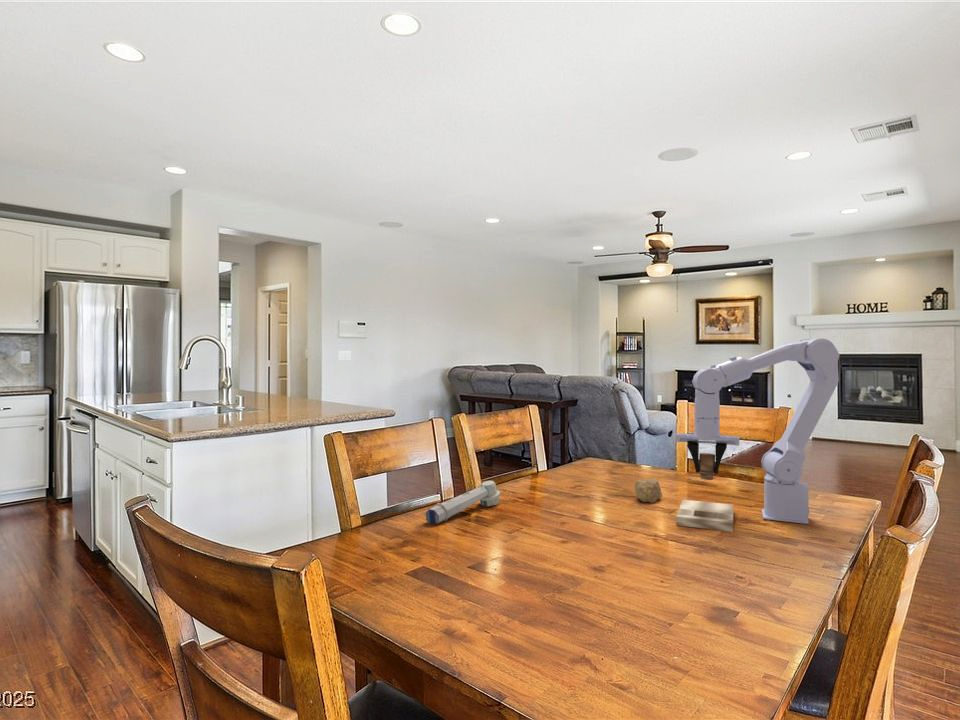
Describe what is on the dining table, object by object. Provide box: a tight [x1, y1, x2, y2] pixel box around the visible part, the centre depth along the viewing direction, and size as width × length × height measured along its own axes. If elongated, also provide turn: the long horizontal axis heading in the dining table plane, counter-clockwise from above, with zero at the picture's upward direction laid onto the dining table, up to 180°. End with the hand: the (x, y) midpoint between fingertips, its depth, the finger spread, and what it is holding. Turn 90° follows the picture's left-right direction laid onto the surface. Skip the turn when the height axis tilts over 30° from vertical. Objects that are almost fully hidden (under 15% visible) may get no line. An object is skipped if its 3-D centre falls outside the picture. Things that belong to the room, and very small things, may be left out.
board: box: [675, 499, 734, 533], centre depth 134 cm, size 12×16×2 cm
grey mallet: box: [424, 480, 501, 526], centre depth 141 cm, size 5×7×25 cm
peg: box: [699, 452, 716, 481], centre depth 138 cm, size 4×4×6 cm
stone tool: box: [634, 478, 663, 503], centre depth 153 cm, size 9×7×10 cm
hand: (706, 472), depth 138 cm, fingers closed on peg, 4 cm apart
